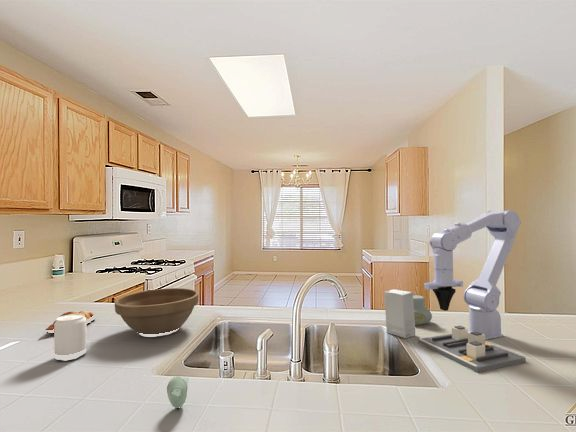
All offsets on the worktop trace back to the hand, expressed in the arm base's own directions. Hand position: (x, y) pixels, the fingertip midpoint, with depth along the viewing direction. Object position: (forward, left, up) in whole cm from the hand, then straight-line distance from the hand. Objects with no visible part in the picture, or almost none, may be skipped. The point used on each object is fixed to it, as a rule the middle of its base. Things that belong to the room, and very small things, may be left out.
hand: (444, 309), depth 109 cm
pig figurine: (+84, +11, -10) cm, 85 cm away
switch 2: (+5, +16, -9) cm, 19 cm away
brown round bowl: (+90, -44, -10) cm, 101 cm away
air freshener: (-4, -18, -10) cm, 21 cm away
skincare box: (+10, -10, -10) cm, 17 cm away
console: (+1, +10, -10) cm, 14 cm away
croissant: (+121, -60, -10) cm, 135 cm away
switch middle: (-3, +10, -9) cm, 13 cm away
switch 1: (-2, +4, -9) cm, 10 cm away
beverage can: (+114, -29, -10) cm, 118 cm away
